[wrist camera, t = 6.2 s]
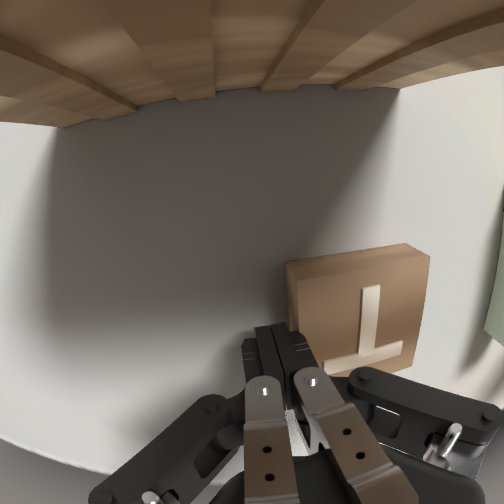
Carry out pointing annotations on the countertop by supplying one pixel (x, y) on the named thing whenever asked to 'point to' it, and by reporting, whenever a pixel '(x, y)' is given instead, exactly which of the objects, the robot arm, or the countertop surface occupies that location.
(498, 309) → the block
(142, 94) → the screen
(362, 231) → the countertop surface
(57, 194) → the countertop surface
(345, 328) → the tile
